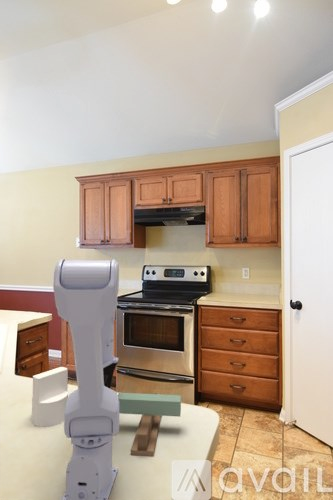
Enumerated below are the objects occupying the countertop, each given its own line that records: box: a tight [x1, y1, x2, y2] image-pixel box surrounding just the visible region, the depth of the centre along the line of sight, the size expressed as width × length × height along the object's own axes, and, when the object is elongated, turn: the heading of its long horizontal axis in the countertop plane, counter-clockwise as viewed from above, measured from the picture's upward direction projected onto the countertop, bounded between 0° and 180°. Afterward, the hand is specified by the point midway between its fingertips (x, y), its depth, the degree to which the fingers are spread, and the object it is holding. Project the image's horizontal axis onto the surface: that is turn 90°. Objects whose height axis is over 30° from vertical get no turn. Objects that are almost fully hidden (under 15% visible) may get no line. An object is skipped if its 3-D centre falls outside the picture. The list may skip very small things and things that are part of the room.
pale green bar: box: [117, 392, 182, 417], centre depth 76 cm, size 16×4×4 cm, turn 85°
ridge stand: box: [130, 392, 162, 457], centre depth 76 cm, size 20×5×4 cm, turn 175°
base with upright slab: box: [31, 366, 69, 428], centre depth 81 cm, size 9×9×12 cm
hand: (101, 396), depth 73 cm, fingers open, 7 cm apart
